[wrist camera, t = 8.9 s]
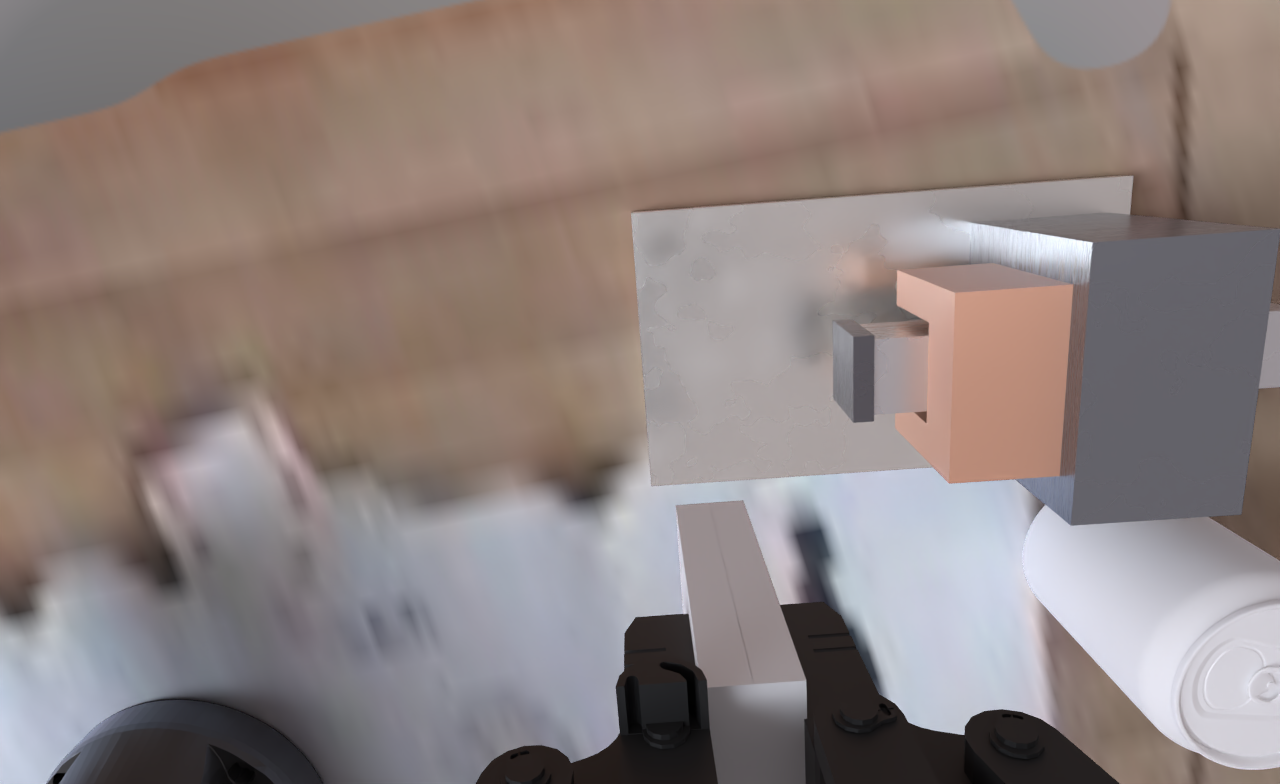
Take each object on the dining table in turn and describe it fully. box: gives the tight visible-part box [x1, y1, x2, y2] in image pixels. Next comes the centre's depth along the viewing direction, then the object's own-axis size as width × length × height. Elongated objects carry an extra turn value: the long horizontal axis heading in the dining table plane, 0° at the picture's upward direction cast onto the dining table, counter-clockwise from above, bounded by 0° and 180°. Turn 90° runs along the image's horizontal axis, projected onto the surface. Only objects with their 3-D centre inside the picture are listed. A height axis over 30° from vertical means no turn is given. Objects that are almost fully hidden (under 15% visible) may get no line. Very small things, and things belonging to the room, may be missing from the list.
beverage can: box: [1023, 505, 1280, 770], centre depth 35 cm, size 8×8×12 cm
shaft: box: [833, 303, 1280, 423], centre depth 32 cm, size 17×3×3 cm, turn 94°
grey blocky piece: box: [631, 176, 1280, 526], centre depth 33 cm, size 22×13×11 cm, turn 94°
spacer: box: [895, 263, 1073, 483], centre depth 31 cm, size 4×7×6 cm, turn 4°
